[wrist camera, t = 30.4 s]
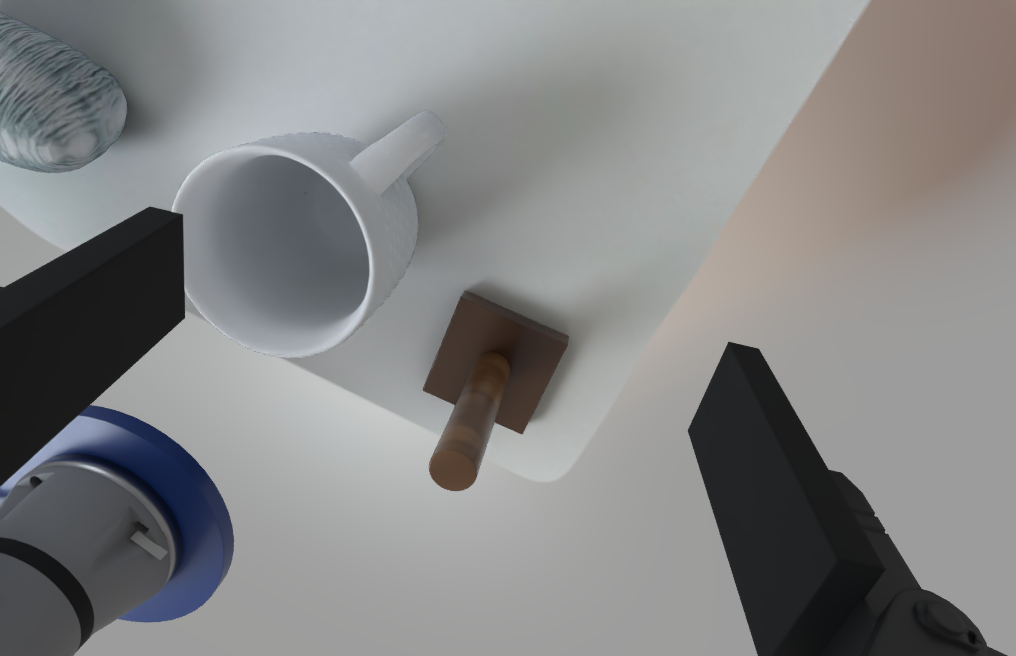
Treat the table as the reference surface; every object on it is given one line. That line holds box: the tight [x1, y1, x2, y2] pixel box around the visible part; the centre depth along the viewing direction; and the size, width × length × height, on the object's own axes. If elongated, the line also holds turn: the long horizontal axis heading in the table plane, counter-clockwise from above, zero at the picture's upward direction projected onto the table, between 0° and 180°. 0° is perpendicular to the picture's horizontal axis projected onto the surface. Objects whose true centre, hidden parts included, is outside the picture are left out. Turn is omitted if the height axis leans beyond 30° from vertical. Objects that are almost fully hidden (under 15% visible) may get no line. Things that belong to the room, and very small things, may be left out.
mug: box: [171, 110, 447, 358], centre depth 37 cm, size 15×11×13 cm
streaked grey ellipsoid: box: [0, 13, 127, 173], centre depth 40 cm, size 14×10×10 cm
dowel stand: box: [423, 291, 569, 491], centre depth 40 cm, size 8×8×14 cm
